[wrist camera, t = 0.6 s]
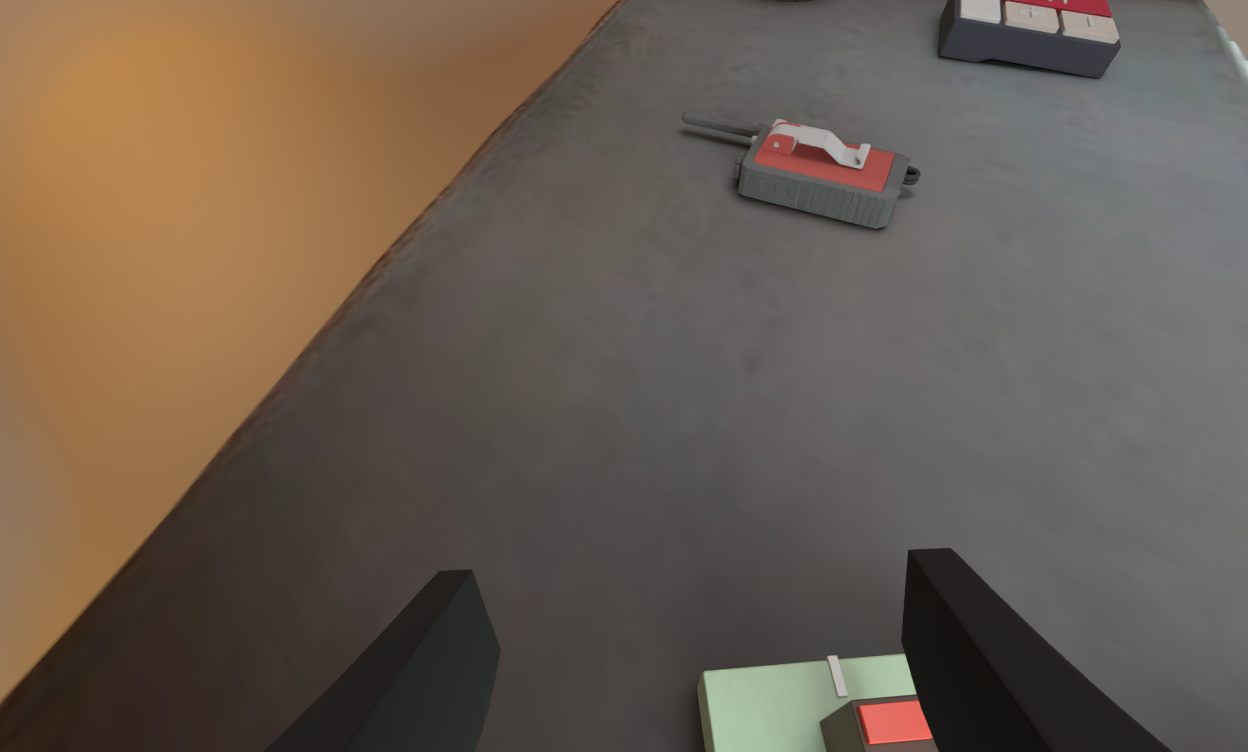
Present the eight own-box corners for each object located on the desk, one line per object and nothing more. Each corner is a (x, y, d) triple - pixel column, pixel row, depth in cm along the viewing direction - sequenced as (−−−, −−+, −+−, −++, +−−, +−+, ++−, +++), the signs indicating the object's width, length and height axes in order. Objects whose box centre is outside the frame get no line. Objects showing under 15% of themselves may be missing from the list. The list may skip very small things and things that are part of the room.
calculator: (1128, 38, 54) (958, 9, 57) (1097, 85, 58) (937, 56, 60) (1112, -6, 61) (959, -30, 63) (1084, 39, 64) (941, 14, 67)
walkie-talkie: (917, 175, 48) (685, 124, 53) (939, 123, 44) (689, 74, 50) (899, 239, 43) (646, 175, 48) (923, 186, 39) (647, 124, 45)
